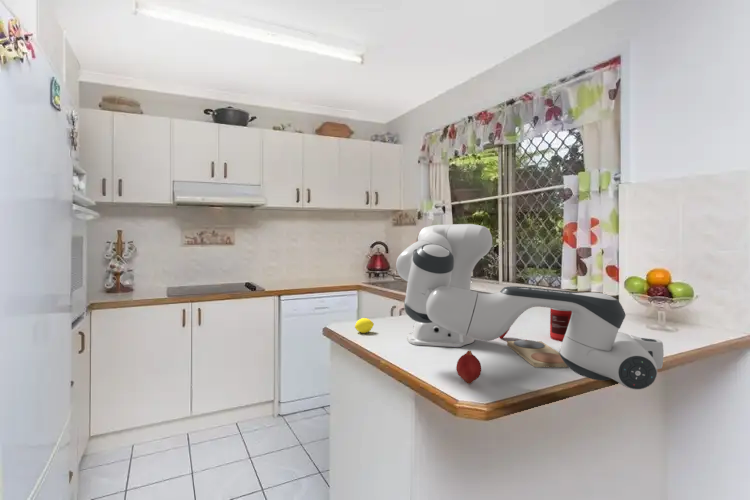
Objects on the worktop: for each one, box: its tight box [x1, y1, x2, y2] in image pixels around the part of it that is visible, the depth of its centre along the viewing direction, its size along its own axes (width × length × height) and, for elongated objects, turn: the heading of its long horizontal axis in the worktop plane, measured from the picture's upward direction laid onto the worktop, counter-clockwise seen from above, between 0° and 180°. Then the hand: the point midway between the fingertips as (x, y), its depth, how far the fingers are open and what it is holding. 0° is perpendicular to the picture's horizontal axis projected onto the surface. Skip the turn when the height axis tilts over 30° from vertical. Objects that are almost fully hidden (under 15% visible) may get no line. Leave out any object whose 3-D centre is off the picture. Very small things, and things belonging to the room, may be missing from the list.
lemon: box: [354, 317, 375, 334], centre depth 146 cm, size 7×5×5 cm
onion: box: [455, 350, 482, 385], centre depth 96 cm, size 6×6×8 cm
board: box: [506, 339, 569, 368], centre depth 119 cm, size 11×23×2 cm, turn 0°
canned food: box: [549, 308, 572, 342], centre depth 138 cm, size 8×8×11 cm
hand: (608, 337), depth 109 cm, fingers open, 8 cm apart
